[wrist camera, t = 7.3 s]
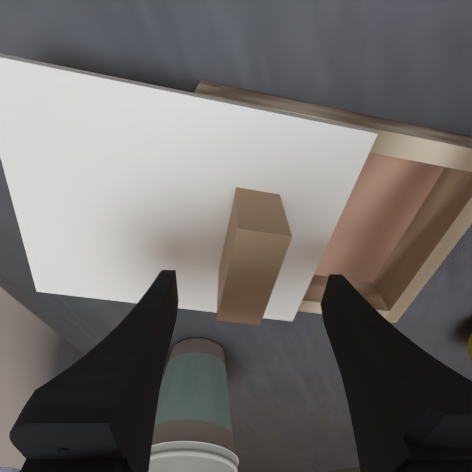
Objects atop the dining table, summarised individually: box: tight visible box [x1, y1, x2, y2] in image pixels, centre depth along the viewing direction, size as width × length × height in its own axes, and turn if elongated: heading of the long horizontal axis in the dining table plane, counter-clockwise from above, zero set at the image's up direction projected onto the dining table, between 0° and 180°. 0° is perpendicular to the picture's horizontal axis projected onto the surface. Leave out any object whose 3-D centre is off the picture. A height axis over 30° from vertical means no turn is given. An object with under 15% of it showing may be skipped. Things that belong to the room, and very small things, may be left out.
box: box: [194, 80, 472, 323], centre depth 21 cm, size 18×14×4 cm
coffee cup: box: [148, 338, 239, 472], centre depth 28 cm, size 8×9×12 cm
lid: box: [0, 54, 378, 325], centre depth 16 cm, size 18×14×5 cm
